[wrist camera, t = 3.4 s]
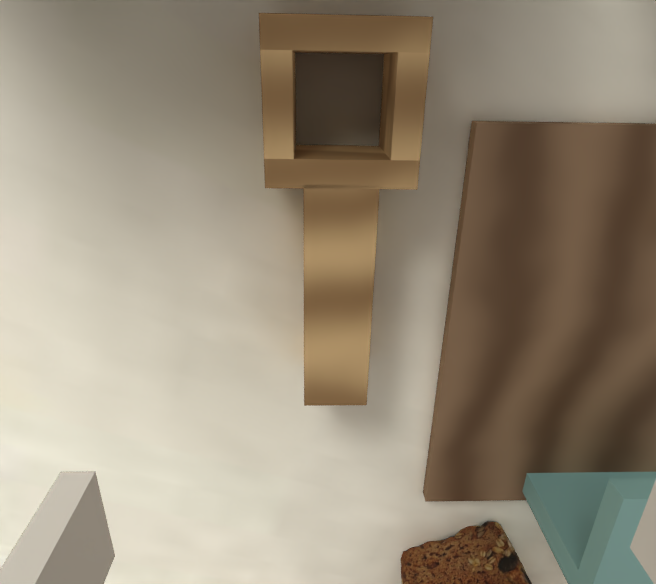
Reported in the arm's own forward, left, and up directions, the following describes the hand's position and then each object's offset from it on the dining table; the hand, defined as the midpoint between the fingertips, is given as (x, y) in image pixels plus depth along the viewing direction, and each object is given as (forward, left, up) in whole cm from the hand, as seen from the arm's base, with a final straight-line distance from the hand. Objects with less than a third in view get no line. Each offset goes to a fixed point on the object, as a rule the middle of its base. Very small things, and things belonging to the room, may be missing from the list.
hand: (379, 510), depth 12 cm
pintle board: (+18, -8, -22) cm, 30 cm away
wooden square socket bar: (0, +1, -22) cm, 22 cm away
